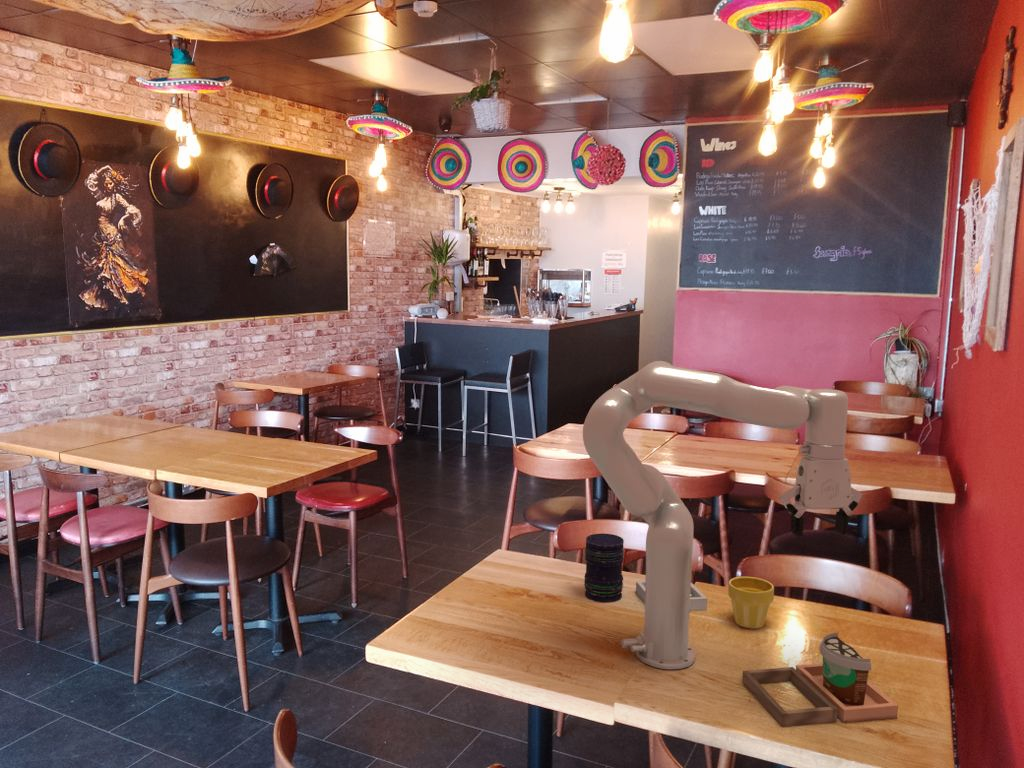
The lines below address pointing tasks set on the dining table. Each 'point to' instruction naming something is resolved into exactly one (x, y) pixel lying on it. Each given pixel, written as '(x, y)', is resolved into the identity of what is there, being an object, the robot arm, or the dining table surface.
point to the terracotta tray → (872, 709)
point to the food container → (844, 670)
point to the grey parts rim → (696, 601)
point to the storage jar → (604, 568)
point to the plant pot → (750, 600)
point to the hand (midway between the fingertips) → (818, 533)
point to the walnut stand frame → (801, 716)
